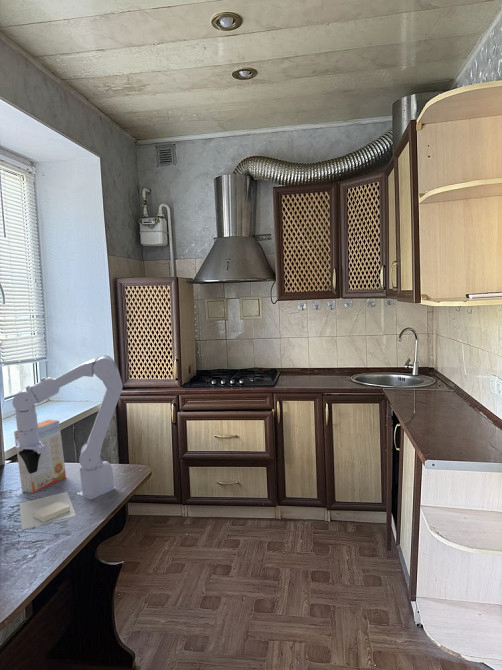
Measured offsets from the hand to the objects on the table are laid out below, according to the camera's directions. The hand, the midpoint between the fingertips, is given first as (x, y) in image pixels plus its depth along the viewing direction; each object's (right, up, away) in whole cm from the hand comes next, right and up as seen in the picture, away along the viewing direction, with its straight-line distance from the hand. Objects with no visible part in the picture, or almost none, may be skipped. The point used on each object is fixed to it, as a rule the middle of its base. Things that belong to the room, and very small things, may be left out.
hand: (32, 472), depth 148 cm
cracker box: (-3, -9, +15) cm, 18 cm away
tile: (+7, -9, -7) cm, 13 cm away
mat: (+6, -10, -5) cm, 13 cm away
